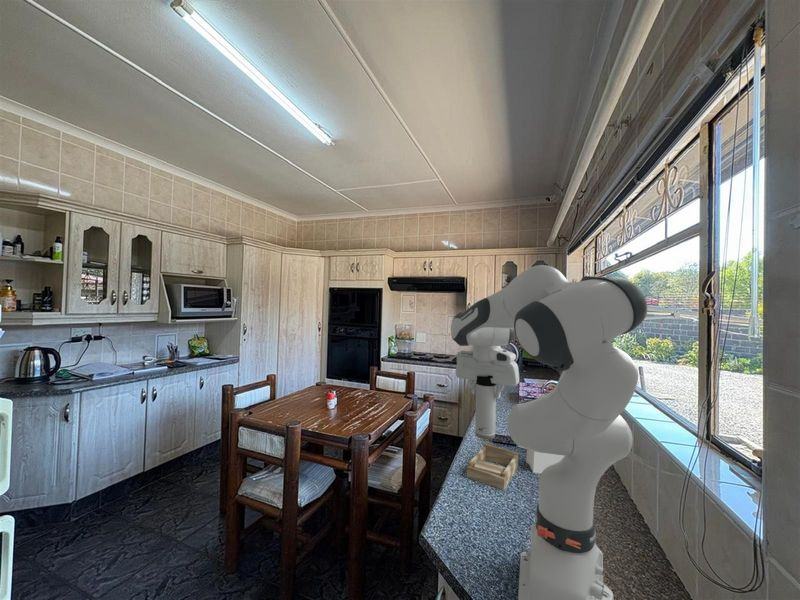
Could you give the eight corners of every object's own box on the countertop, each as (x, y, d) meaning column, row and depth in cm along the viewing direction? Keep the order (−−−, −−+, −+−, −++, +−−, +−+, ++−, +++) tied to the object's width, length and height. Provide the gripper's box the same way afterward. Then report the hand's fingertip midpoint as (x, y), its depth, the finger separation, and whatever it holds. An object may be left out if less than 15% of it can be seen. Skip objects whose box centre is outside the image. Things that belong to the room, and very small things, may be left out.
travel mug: (481, 440, 98) (482, 376, 99) (471, 432, 105) (472, 371, 105) (499, 439, 100) (500, 375, 100) (489, 431, 106) (490, 371, 106)
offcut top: (500, 479, 106) (500, 473, 106) (474, 471, 111) (474, 466, 111) (503, 473, 111) (503, 467, 111) (477, 466, 115) (477, 460, 115)
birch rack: (504, 494, 104) (504, 472, 104) (466, 481, 111) (467, 460, 111) (517, 471, 119) (518, 452, 119) (484, 461, 126) (484, 443, 126)
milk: (558, 464, 125) (559, 398, 125) (568, 480, 113) (569, 407, 114) (526, 461, 127) (527, 396, 127) (532, 476, 116) (534, 405, 116)
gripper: (453, 350, 106) (452, 392, 106) (515, 357, 94) (515, 403, 94) (460, 348, 111) (459, 388, 111) (521, 355, 100) (520, 399, 99)
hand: (485, 395), depth 102 cm, fingers closed on travel mug, 6 cm apart
